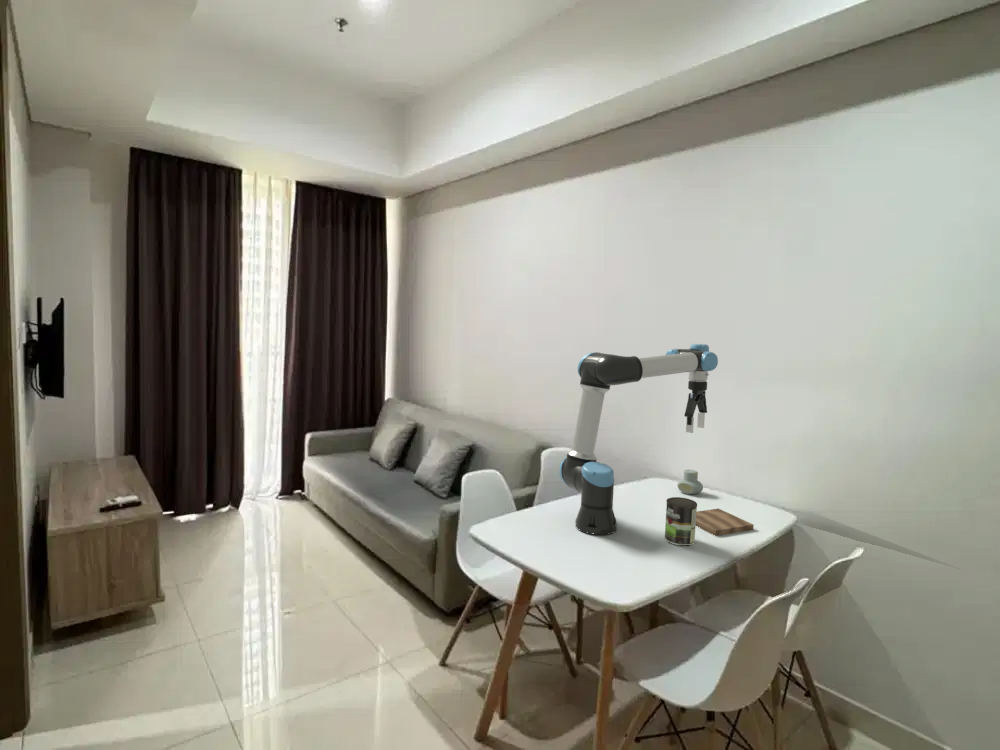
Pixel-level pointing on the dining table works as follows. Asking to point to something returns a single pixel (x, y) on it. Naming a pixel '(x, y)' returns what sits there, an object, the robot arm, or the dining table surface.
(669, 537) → the coffee can
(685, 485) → the air freshener
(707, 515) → the walnut board
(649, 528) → the dining table surface
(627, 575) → the dining table surface
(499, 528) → the dining table surface
